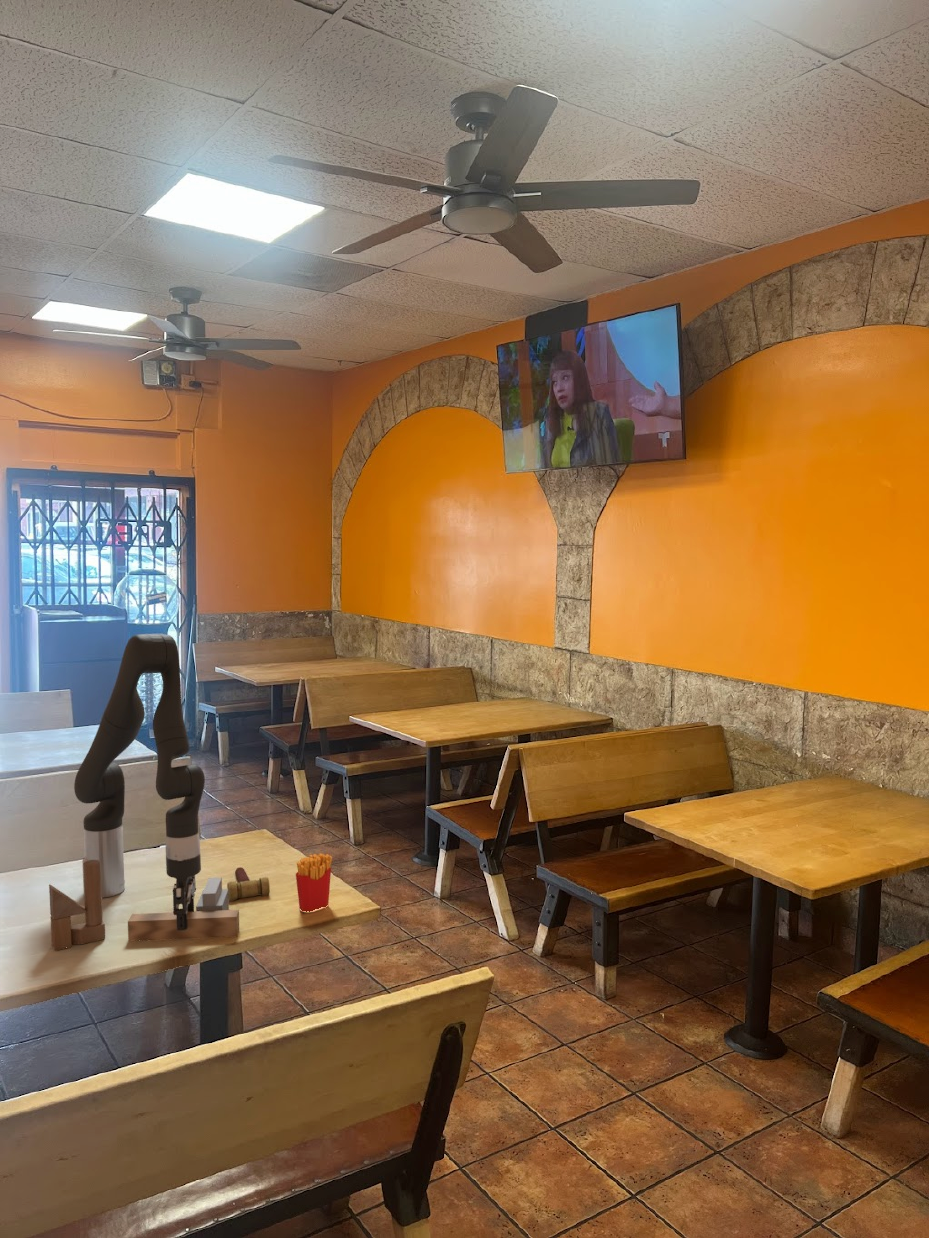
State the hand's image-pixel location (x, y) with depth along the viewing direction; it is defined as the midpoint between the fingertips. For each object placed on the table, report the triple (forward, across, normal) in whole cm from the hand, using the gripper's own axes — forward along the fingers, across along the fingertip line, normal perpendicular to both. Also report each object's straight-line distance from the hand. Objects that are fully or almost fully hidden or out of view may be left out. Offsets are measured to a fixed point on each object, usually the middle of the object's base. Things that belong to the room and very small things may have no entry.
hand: (185, 921), depth 209 cm
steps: (+3, -9, +5) cm, 11 cm away
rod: (+4, 0, 0) cm, 4 cm away
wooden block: (+3, +1, -23) cm, 24 cm away
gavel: (+4, -30, +10) cm, 31 cm away
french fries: (+4, -12, +29) cm, 31 cm away
